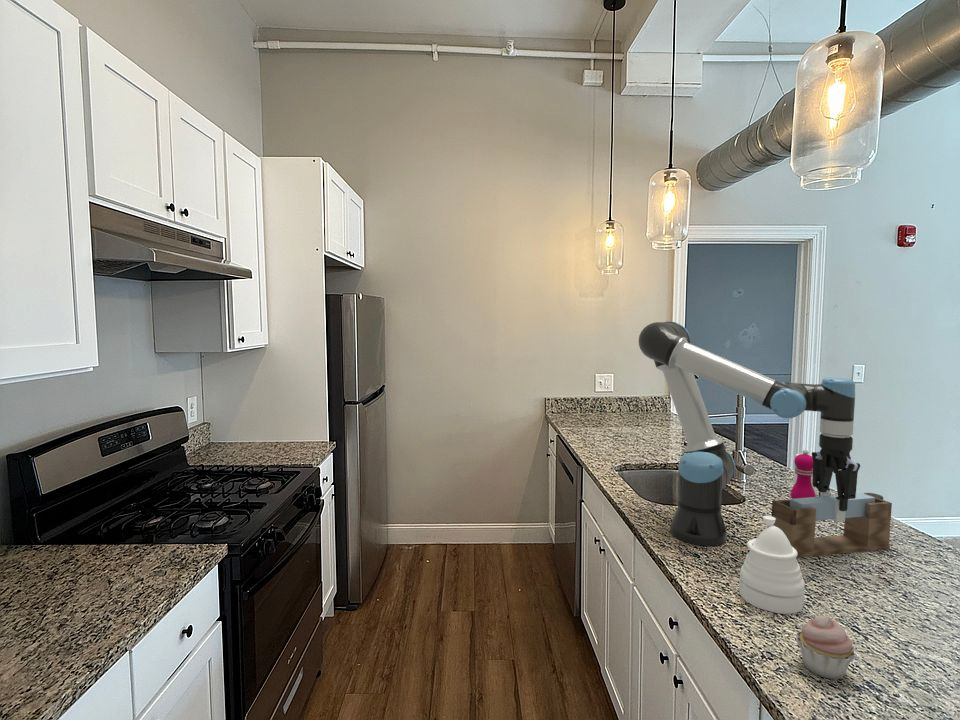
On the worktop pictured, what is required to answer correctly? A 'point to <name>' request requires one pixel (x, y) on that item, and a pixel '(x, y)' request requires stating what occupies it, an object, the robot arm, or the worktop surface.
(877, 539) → the bracket
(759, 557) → the honey pot
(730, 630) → the worktop surface
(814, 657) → the cupcake
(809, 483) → the pepper mill
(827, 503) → the rail
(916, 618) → the worktop surface
